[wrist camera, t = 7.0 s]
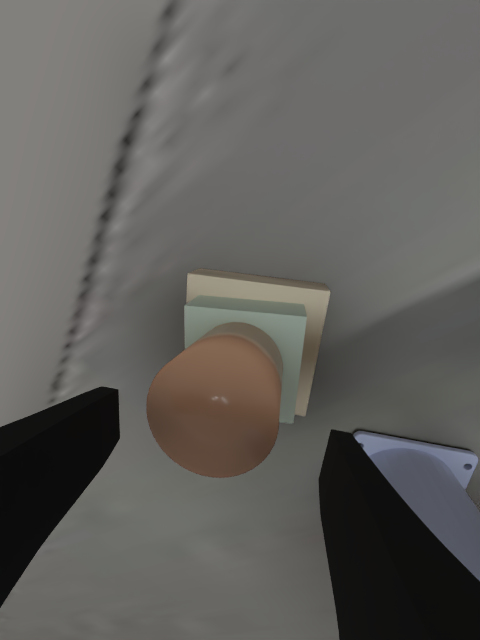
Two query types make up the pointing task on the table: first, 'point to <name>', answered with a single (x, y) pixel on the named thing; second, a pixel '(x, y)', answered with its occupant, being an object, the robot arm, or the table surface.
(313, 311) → the tower base
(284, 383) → the tower top
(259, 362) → the terracotta cylinder
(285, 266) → the table surface
